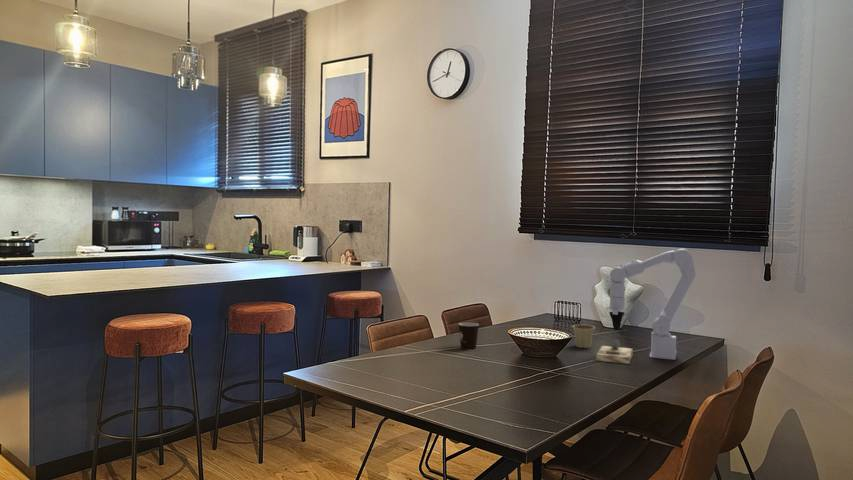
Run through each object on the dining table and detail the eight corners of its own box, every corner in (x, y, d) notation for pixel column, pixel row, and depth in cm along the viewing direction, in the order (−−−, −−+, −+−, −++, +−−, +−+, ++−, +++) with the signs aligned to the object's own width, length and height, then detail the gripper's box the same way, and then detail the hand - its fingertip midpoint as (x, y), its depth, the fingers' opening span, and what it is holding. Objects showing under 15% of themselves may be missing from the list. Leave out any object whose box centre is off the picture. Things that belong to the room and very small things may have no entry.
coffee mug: (479, 350, 242) (479, 326, 242) (458, 350, 242) (458, 326, 242) (477, 344, 254) (477, 321, 254) (457, 344, 254) (457, 321, 254)
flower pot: (589, 350, 245) (590, 329, 245) (568, 347, 251) (568, 326, 250) (597, 346, 252) (598, 326, 252) (577, 343, 258) (577, 323, 258)
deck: (632, 354, 238) (632, 348, 238) (629, 363, 222) (629, 357, 222) (601, 351, 243) (602, 345, 243) (596, 360, 227) (596, 354, 227)
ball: (620, 348, 238) (620, 339, 238) (619, 350, 235) (619, 341, 235) (610, 347, 240) (611, 338, 239) (609, 349, 236) (610, 340, 236)
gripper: (609, 294, 249) (608, 325, 249) (605, 298, 235) (604, 331, 236) (626, 295, 246) (626, 327, 246) (623, 299, 233) (622, 333, 233)
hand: (616, 329), depth 241 cm, fingers closed
